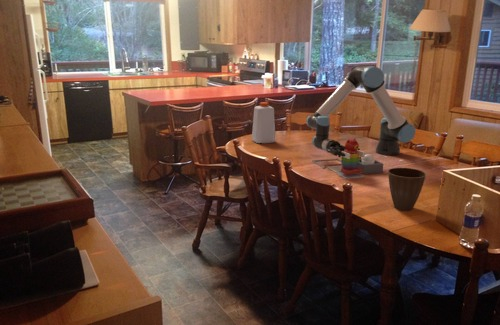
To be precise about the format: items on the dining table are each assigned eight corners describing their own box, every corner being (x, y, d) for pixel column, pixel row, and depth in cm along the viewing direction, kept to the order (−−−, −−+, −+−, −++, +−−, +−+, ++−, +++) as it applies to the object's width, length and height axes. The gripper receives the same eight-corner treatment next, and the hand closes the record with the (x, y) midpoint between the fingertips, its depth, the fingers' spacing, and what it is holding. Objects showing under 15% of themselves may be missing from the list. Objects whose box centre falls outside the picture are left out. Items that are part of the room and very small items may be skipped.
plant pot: (383, 211, 180) (387, 175, 175) (386, 199, 193) (389, 166, 189) (421, 216, 175) (426, 179, 170) (421, 204, 188) (425, 169, 184)
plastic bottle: (269, 138, 317) (270, 100, 310) (277, 142, 303) (278, 103, 296) (250, 139, 313) (250, 101, 305) (257, 144, 299) (257, 104, 291)
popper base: (371, 166, 246) (372, 158, 244) (382, 172, 234) (383, 163, 233) (352, 168, 243) (353, 159, 241) (362, 174, 231) (363, 165, 230)
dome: (369, 165, 242) (371, 152, 240) (376, 169, 236) (377, 155, 234) (358, 166, 241) (359, 152, 238) (364, 170, 234) (366, 156, 232)
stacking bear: (348, 175, 222) (350, 142, 217) (335, 170, 231) (338, 138, 226) (364, 172, 227) (366, 140, 222) (351, 168, 236) (353, 136, 231)
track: (338, 159, 261) (338, 158, 261) (369, 176, 226) (369, 176, 226) (311, 160, 257) (311, 160, 257) (339, 179, 222) (339, 178, 222)
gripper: (346, 151, 247) (372, 160, 228) (315, 154, 239) (339, 164, 219) (347, 138, 245) (373, 146, 226) (315, 141, 237) (340, 150, 217)
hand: (356, 155), depth 222 cm, fingers closed on stacking bear, 9 cm apart
